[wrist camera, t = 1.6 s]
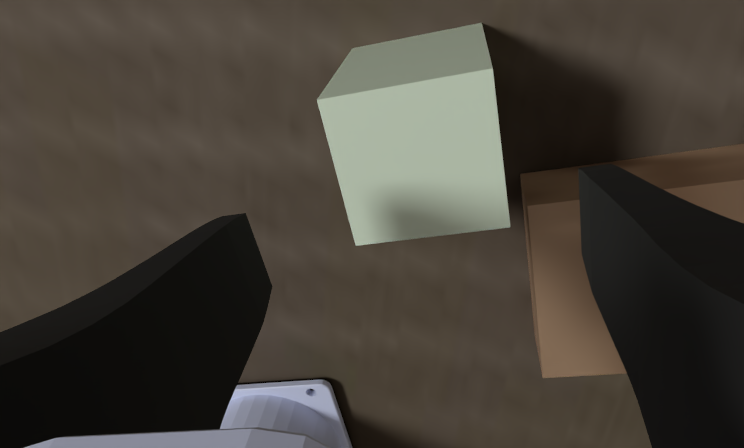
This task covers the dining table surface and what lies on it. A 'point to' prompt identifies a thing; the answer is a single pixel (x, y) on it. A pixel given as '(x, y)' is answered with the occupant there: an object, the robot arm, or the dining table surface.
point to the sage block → (417, 137)
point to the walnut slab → (564, 256)
